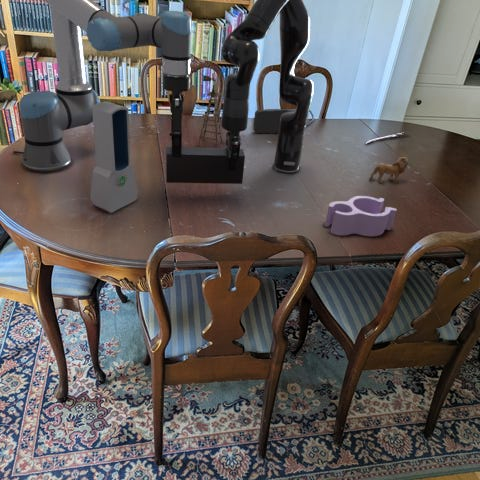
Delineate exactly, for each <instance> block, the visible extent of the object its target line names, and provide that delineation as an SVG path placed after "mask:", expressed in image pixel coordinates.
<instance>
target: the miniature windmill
mask: <svg viewBox="0 0 480 480" xmlns="http://www.w3.org/2000/svg"><path fill="white" fill-rule="evenodd" d="M219 71H220V68H219V67H218V68H217V71H216V73H215V74H214V76H215V77H213V78H212V77H211V76H209V75H205V74H203V75H202V82H213V85H212V88H211V91H209V92H208V93H207V94H206V95H207V96H208V97H209V99H208V105H206V107H207V108H206V111H205V116H204V118H203V123H202V127H201V130H200V135H199V136H198V138H199V139H198V143H197V146H198V147H200V144H201V141H202V140H213V141H215V146H216V147H215V148H219V140H220V143H224V142H223V141H224V140H223V133H222V125H221V119H220V109H219V104H218V103H219V102H218V101H219V99H218V97H220V96H221V95H222V92H218V90H219V87H220V82H221V79H220V78H221V76H220V72H219ZM212 104H213V105H214V109H213V108H211V105H212ZM210 111H213V112H210ZM210 115H214V119H209V116H210ZM209 122H214V123H215V124H209ZM208 126H210V127H215V131H211V130H210V131H209V130H207V128H208ZM218 130H219V132H218ZM207 133H210V134H215V138H213V137H212V138H211V137H206V134H207ZM218 135H219V137H218Z"/></svg>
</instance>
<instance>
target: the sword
mask: <svg viewBox="0 0 480 480" xmlns="http://www.w3.org/2000/svg"><path fill="white" fill-rule="evenodd" d="M402 133H403V132H400V133H397V132H395V133H393V134H389V135H384V136H381V137H375V138H373V139H369V140H367V141H366V142H365V145H368V144H371V143H374V142H377V141H381V140H385V139H389V138H394V137H400V136H403V135H404V136H405V134H402ZM409 134H410V132H408V134H407V135H409Z"/></svg>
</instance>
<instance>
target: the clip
mask: <svg viewBox="0 0 480 480" xmlns="http://www.w3.org/2000/svg"><path fill="white" fill-rule="evenodd" d="M384 201H385V198H383V197H379V198H376V197H373V196H368V195H357V196H352V197H350V198H349V200H347V201H339V200H338V201H337V200H335V201H332V202H330V203H329V205H328V208H327V214H326V218H325V222H324V227H326V228H329V227H330V226H331V227H330V233H331V234H333V235H336V236H348V235H353V234H356V235H360V236H364V237H365V236H366V237H378V236H381V235H382V234H384V232H385V230H387V231H391V229H392V226H393V222H394V219H395V216H396V213H397V210H398V209H397V208H395V207H391V206H385V207H384V211H383V212H382V209H383V206H384Z"/></svg>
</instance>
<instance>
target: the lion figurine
mask: <svg viewBox="0 0 480 480" xmlns="http://www.w3.org/2000/svg"><path fill="white" fill-rule="evenodd" d="M408 164H409V161H408V157H406V156H401V157H398V158H397V160H396V161H395V163H393V164H386V163H379V164H377V166H376V167H375V168H374V170H373V171H372V173H371V174H370V177H369V179H368V181H370V182H371V181H372V180H374V179H375V178H374V176H375V175H377V174H378V176H377V177H378V178H377V179H378V181H379V183H380V184H384V181H383V180H382V178H383V176H384V174H386V175H390V176H389V180H390V181H391V180H393V182H394V183H396V184H397V183H398V182H399V181H398V178H399V176H400V175H401V174H403V173H405V171H406V169H407V167H408V166H409V165H408Z"/></svg>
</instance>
